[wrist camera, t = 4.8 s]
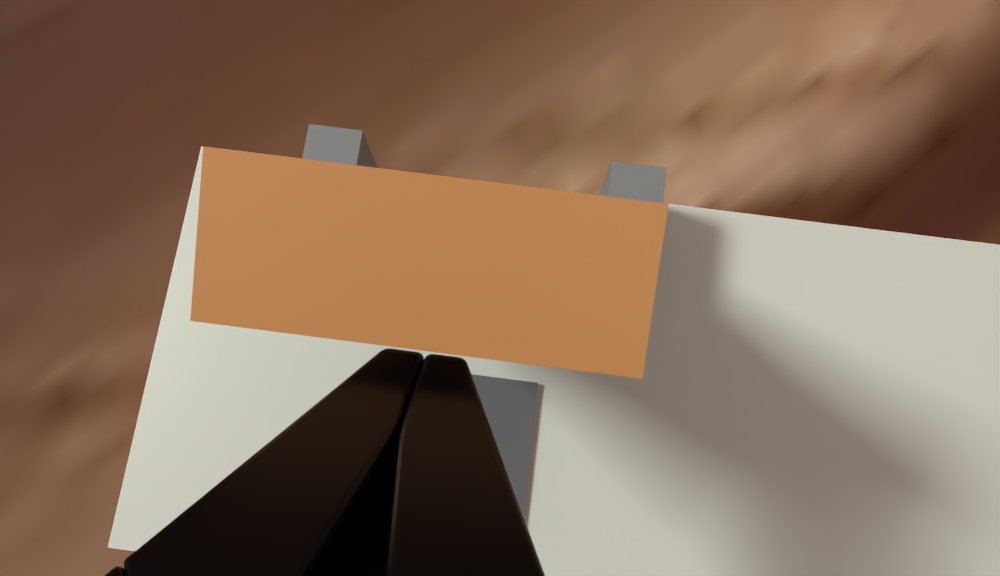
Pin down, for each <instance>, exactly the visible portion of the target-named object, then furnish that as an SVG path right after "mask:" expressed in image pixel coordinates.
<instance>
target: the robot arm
mask: <svg viewBox="0 0 1000 576" xmlns="http://www.w3.org/2000/svg"><path fill="white" fill-rule="evenodd" d="M124 569H125V570H124ZM105 576H545V574H544V571H543V569H542V566H541V563H540V561H539V558H538V555H537V552H536V550H535V547H534V544H533V541H532V539H531V536H530V533H529V530H528V528H527V525H526V522H525V520H524V517H523V514H522V511H521V509H520V506H519V503H518V500H517V498H516V495H515V492H514V489H513V487H512V484H511V481H510V479H509V476H508V473H507V470H506V468H505V465H504V462H503V459H502V457H501V454H500V451H499V448H498V446H497V443H496V440H495V438H494V435H493V432H492V429H491V427H490V424H489V421H488V418H487V416H486V413H485V410H484V408H483V405H482V402H481V399H480V397H479V394H478V391H477V388H476V386H475V383H474V380H473V377H472V375H471V372H470V369H469V367H468V364H467V362H466V361H465V360H464V359H463V358H460V357H453V356H445V355H437V354H429V355H427V356H426V357H425V358H424V357H423V355H422V354H421V353H419V352H414V351H406V350H399V349H391V348H390V349H384V350H382V351H380V352H379V353H378V354H376V355H375V356H374V357H373V358H372V359H370V360H369V361H368V362H367V363H365V364H364V365H363V366H362V367H361V368H359V369H358V370H357V371H356V372H354V373H353V374H352V375H351V376H350V377H348V378H347V379H346V380H345V381H343V382H342V383H341V384H340V385H338V386H337V387H336V388H335V389H334V390H332V391H331V392H330V393H329V394H327V395H326V396H325V397H324V398H323V399H321V400H320V401H319V402H318V403H316V404H315V405H314V406H313V407H312V408H310V409H309V410H308V411H307V412H305V413H304V414H303V415H302V416H300V417H299V418H298V419H297V420H296V421H294V422H293V423H292V424H291V425H289V426H288V427H287V428H286V429H285V430H283V431H282V432H281V433H280V434H278V435H277V436H276V437H275V438H274V439H272V440H271V441H270V442H269V443H267V444H266V445H265V446H264V447H263V448H261V449H260V450H259V451H258V452H256V453H255V454H254V455H253V456H251V457H250V458H249V459H248V460H247V461H245V462H244V463H243V464H242V465H240V466H239V467H238V468H237V469H236V470H234V471H233V472H232V473H231V474H229V475H228V476H227V477H226V478H225V479H223V480H222V481H221V482H220V483H218V484H217V485H216V486H215V487H213V488H212V489H211V490H210V491H209V492H207V493H206V494H205V495H204V496H202V497H201V498H200V499H199V500H198V501H196V502H195V503H194V504H193V505H191V506H190V507H189V508H188V509H187V510H185V511H184V512H183V513H182V514H180V515H179V516H178V517H177V518H176V519H174V520H173V521H172V522H171V523H169V524H168V525H167V526H166V527H164V528H163V529H162V530H161V531H160V532H158V533H157V534H156V535H155V536H153V537H152V538H151V539H150V540H149V541H147V542H146V543H145V544H144V545H142V546H141V547H140V548H139V549H138V550H136V551H135V552H134V553H133V554H131V555H130V556H129V557H128V558H127V559H126V560H125V561H124V568H122V567H119V566H118V567H115V568H114V569H112V570H111V571H110V572H109V573H108V574H106V575H105Z"/></svg>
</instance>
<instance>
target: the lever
mask: <svg viewBox="0 0 1000 576" xmlns="http://www.w3.org/2000/svg"><path fill="white" fill-rule="evenodd" d="M668 205H669V204H665V203H657V202H649V201H641V200H632V199H624V198H616V197H608V196H600V195H592V194H584V193H576V192H568V191H560V190H552V189H543V188H535V187H527V186H519V185H511V184H503V183H495V182H487V181H479V180H471V179H463V178H454V177H446V176H438V175H430V174H422V173H414V172H406V171H398V170H390V169H382V168H374V167H366V166H357V165H349V164H341V163H333V162H325V161H317V160H309V159H301V158H293V157H285V156H277V155H268V154H260V153H252V152H244V151H236V150H228V149H220V148H212V147H204V146H203V156H202V169H201V183H200V196H199V209H198V223H197V236H196V250H195V263H194V277H193V290H192V304H191V317H190V321H195V322H203V323H211V324H219V325H227V326H234V327H242V328H250V329H258V330H266V331H273V332H281V333H289V334H297V335H305V336H312V337H320V338H328V339H336V340H344V341H351V342H359V343H367V344H375V345H382V346H390V347H398V348H406V349H414V350H421V351H429V352H437V353H445V354H453V355H460V356H468V357H476V358H484V359H492V360H499V361H507V362H515V363H523V364H531V365H538V366H546V367H554V368H562V369H570V370H577V371H585V372H593V373H601V374H609V375H616V376H624V377H632V378H640V379H643V373H644V366H645V359H646V353H647V346H648V339H649V332H650V326H651V319H652V312H653V306H654V299H655V292H656V286H657V279H658V272H659V265H660V259H661V252H662V245H663V239H664V232H665V225H666V219H667V212H668Z"/></svg>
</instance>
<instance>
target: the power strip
mask: <svg viewBox="0 0 1000 576" xmlns="http://www.w3.org/2000/svg"><path fill="white" fill-rule="evenodd" d="M202 156H203V146H201V150H200V154H199V159H198V163H197V167H196V171H195V176H194V180H193V184H192V189H191V193H190V197H189V201H188V206H187V210H186V214H185V219H184V223H183V227H182V231H181V236H180V240H179V244H178V249H177V253H176V257H175V261H174V266H173V270H172V274H171V279H170V283H169V287H168V291H167V296H166V300H165V304H164V308H163V313H162V317H161V321H160V326H159V330H158V334H157V338H156V343H155V347H154V351H153V356H152V360H151V364H150V368H149V373H148V377H147V381H146V386H145V390H144V394H143V398H142V403H141V407H140V411H139V415H138V420H137V424H136V428H135V433H134V437H133V441H132V445H131V450H130V454H129V458H128V463H127V467H126V471H125V475H124V480H123V484H122V488H121V493H120V497H119V501H118V505H117V510H116V514H115V518H114V523H113V527H112V531H111V535H110V540H109V544H108V548H115V549H122V550H130V551H136V550H138V549H139V548H140V547H141V546H142V545H144V544H145V543H146V542H147V541H149V540H150V539H151V538H152V537H153V536H155V535H156V534H157V533H158V532H160V531H161V530H162V529H163V528H164V527H166V526H167V525H168V524H169V523H171V522H172V521H173V520H174V519H176V518H177V517H178V516H179V515H180V514H182V513H183V512H184V511H185V510H187V509H188V508H189V507H190V506H191V505H193V504H194V503H195V502H196V501H198V500H199V499H200V498H201V497H202V496H204V495H205V494H206V493H207V492H209V491H210V490H211V489H212V488H213V487H215V486H216V485H217V484H218V483H220V482H221V481H222V480H223V479H225V478H226V477H227V476H228V475H229V474H231V473H232V472H233V471H234V470H236V469H237V468H238V467H239V466H240V465H242V464H243V463H244V462H245V461H247V460H248V459H249V458H250V457H251V456H253V455H254V454H255V453H256V452H258V451H259V450H260V449H261V448H263V447H264V446H265V445H266V444H267V443H269V442H270V441H271V440H272V439H274V438H275V437H276V436H277V435H278V434H280V433H281V432H282V431H283V430H285V429H286V428H287V427H288V426H289V425H291V424H292V423H293V422H294V421H296V420H297V419H298V418H299V417H300V416H302V415H303V414H304V413H305V412H307V411H308V410H309V409H310V408H312V407H313V406H314V405H315V404H316V403H318V402H319V401H320V400H321V399H323V398H324V397H325V396H326V395H327V394H329V393H330V392H331V391H332V390H334V389H335V388H336V387H337V386H338V385H340V384H341V383H342V382H343V381H345V380H346V379H347V378H348V377H350V376H351V375H352V374H353V373H354V372H356V371H357V370H358V369H359V368H361V367H362V366H363V365H364V364H365V363H367V362H368V361H369V360H370V359H372V358H373V357H374V356H375V355H376V354H378V353H379V352H380V351H382V350H384V349H390V348H391V349H399V350H406V351H414V352H419V353H421V354H422V355H423V357H424V358H425V357H426V356H427V355H429V354H437V355H445V356H453V357H460V358H463V359H464V360H465V361H466V362H467V364H468V367H469V369H470V372H471V375H472V377H473V380H474V383H475V386H476V388H477V391H478V394H479V397H480V399H481V402H482V405H483V408H484V410H485V413H486V416H487V418H488V421H489V424H490V427H491V429H492V432H493V435H494V438H495V440H496V443H497V446H498V448H499V451H500V454H501V457H502V459H503V462H504V465H505V468H506V470H507V473H508V476H509V479H510V481H511V484H512V487H513V489H514V492H515V495H516V498H517V500H518V503H519V506H520V509H521V511H522V514H523V517H524V520H525V522H526V525H527V528H528V530H529V533H530V536H531V539H532V541H533V544H534V547H535V550H536V552H537V555H538V558H539V561H540V563H541V566H542V569H543V571H544V574H545V576H1000V245H996V244H988V243H980V242H972V241H964V240H956V239H948V238H940V237H932V236H923V235H915V234H907V233H899V232H891V231H883V230H875V229H867V228H859V227H851V226H843V225H834V224H826V223H818V222H810V221H802V220H794V219H786V218H778V217H770V216H762V215H754V214H746V213H737V212H729V211H721V210H713V209H705V208H697V207H689V206H681V205H673V204H669V205H668V212H667V219H666V225H665V232H664V239H663V245H662V252H661V259H660V265H659V272H658V279H657V286H656V292H655V299H654V306H653V312H652V319H651V326H650V332H649V339H648V346H647V353H646V359H645V366H644V373H643V379H640V378H632V377H624V376H616V375H609V374H601V373H593V372H585V371H577V370H570V369H562V368H554V367H546V366H538V365H531V364H523V363H515V362H507V361H499V360H492V359H484V358H476V357H468V356H460V355H453V354H445V353H437V352H429V351H421V350H414V349H406V348H398V347H390V346H382V345H375V344H367V343H359V342H351V341H344V340H336V339H328V338H320V337H312V336H305V335H297V334H289V333H281V332H273V331H266V330H258V329H250V328H242V327H234V326H227V325H219V324H211V323H203V322H195V321H190V317H191V304H192V290H193V277H194V263H195V250H196V236H197V223H198V209H199V196H200V183H201V169H202ZM302 159H309V160H317V161H325V162H333V163H341V164H349V165H357V166H366V167H374V168H377V166H376V163H375V161H374V158H373V156H372V153H371V151H370V148H369V145H368V143H367V140H366V138H365V135H364V133H363V131H361V130H353V129H345V128H337V127H329V126H321V125H313V124H309V127H308V132H307V137H306V142H305V147H304V152H303V157H302ZM665 176H666V168H663V167H655V166H647V165H639V164H630V163H622V162H614V161H611V164H610V167H609V169H608V172H607V174H606V177H605V179H604V182H603V184H602V187H601V189H600V192H599V195H600V196H608V197H616V198H624V199H632V200H641V201H649V202H657V203H663V200H664V188H665Z"/></svg>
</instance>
